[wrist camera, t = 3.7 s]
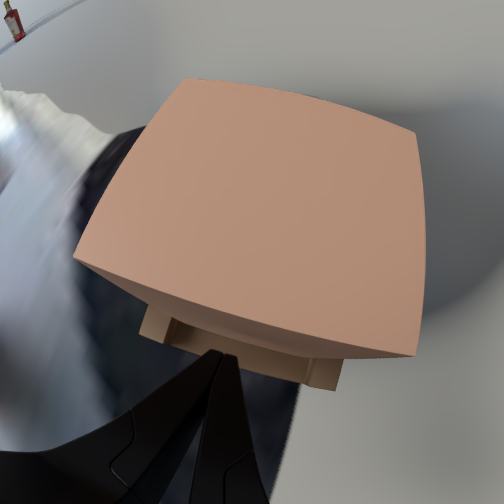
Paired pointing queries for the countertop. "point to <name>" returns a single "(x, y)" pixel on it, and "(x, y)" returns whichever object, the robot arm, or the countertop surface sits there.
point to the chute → (242, 352)
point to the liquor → (14, 22)
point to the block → (270, 222)
